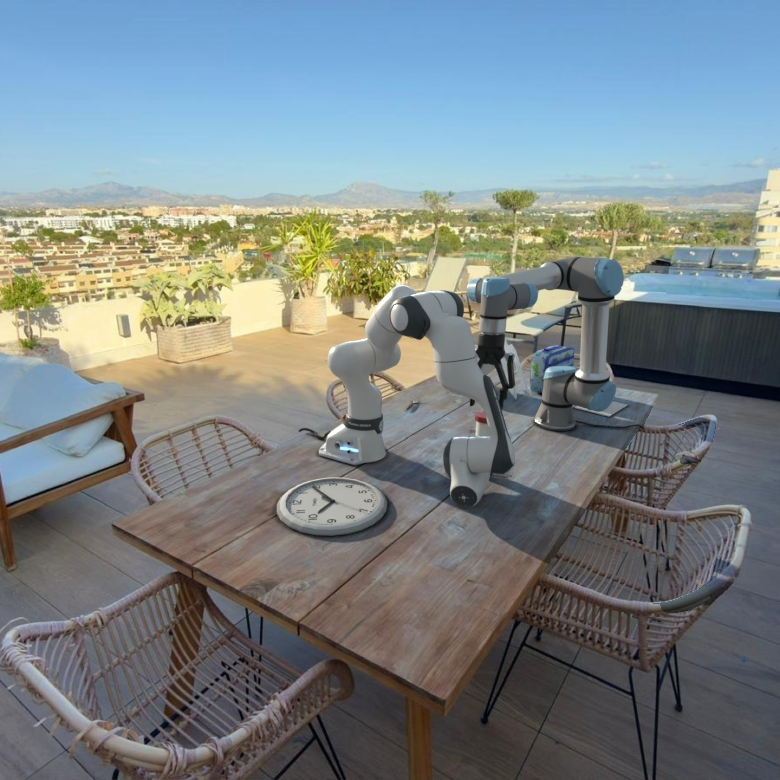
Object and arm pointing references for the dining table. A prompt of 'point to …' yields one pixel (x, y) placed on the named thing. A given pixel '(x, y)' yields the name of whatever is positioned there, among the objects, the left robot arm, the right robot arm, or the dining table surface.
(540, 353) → the lunch box
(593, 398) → the right robot arm
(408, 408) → the fork
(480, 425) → the jar
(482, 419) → the lid
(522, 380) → the white plastic object
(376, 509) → the wall clock
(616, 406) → the invitation card
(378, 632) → the dining table surface
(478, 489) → the left robot arm
